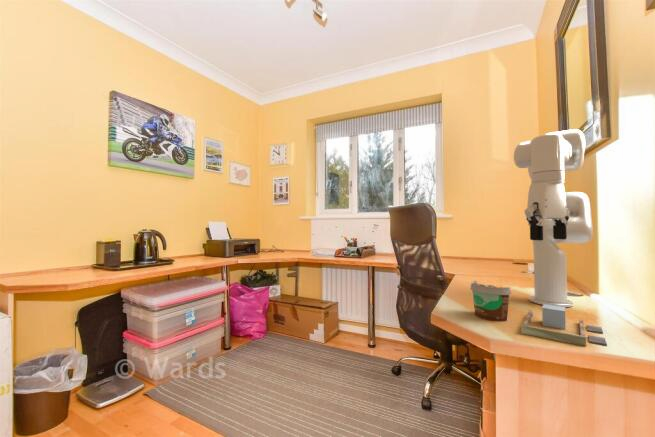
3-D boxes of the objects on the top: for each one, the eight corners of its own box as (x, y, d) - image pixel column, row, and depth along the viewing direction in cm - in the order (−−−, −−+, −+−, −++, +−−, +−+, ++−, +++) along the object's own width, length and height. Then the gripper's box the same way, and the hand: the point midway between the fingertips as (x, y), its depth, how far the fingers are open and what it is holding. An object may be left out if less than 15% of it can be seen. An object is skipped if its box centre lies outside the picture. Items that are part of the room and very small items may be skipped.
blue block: (543, 321, 85) (543, 304, 85) (565, 325, 82) (565, 307, 82) (542, 325, 81) (542, 307, 82) (565, 329, 78) (565, 311, 78)
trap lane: (529, 315, 91) (529, 308, 91) (600, 326, 80) (600, 319, 80) (521, 333, 75) (521, 325, 75) (608, 350, 65) (608, 341, 65)
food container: (461, 313, 93) (461, 281, 93) (475, 310, 95) (474, 280, 96) (497, 325, 82) (496, 289, 82) (511, 322, 84) (511, 287, 84)
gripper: (553, 182, 88) (554, 238, 88) (513, 179, 83) (514, 239, 82) (582, 178, 81) (583, 239, 81) (540, 175, 75) (541, 241, 75)
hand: (548, 239), depth 82 cm, fingers open, 9 cm apart
